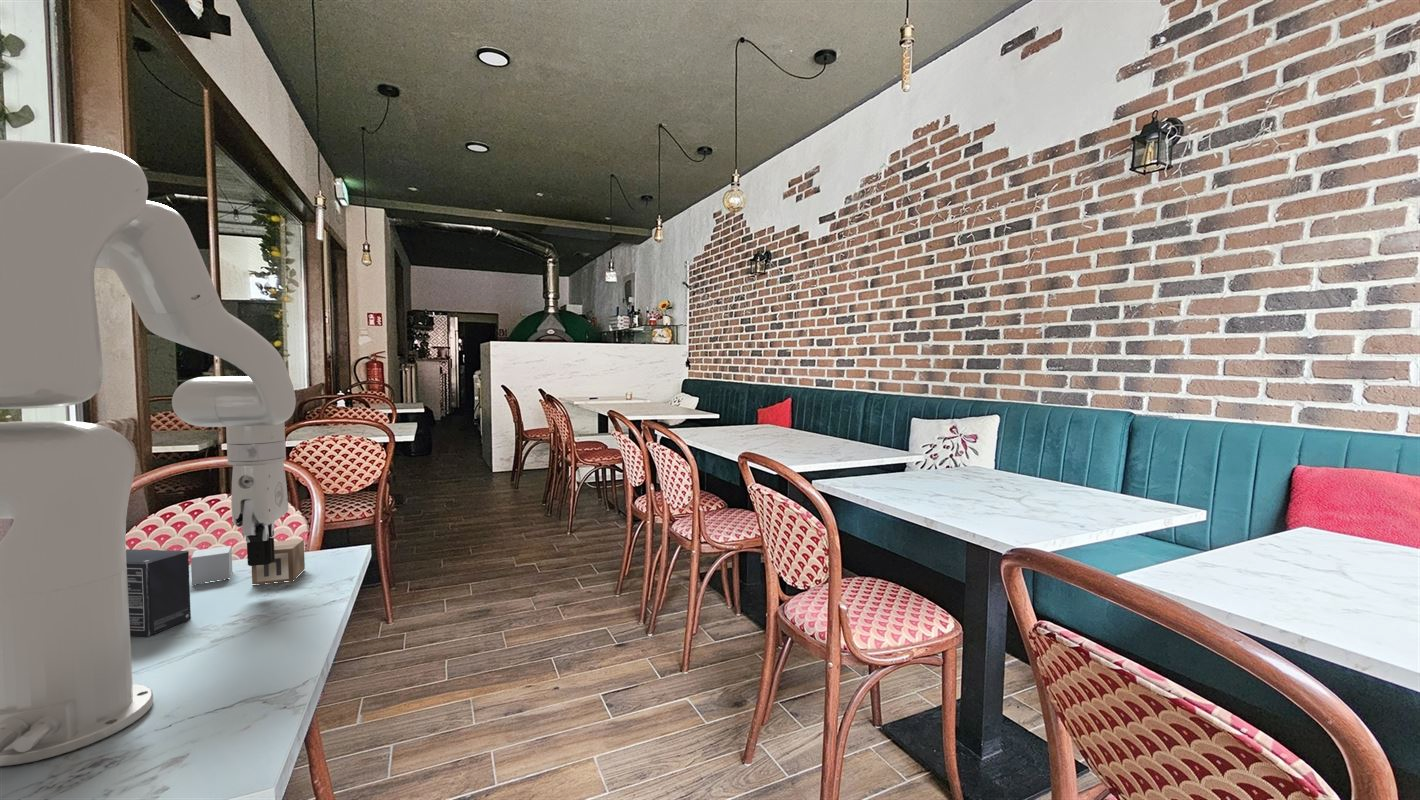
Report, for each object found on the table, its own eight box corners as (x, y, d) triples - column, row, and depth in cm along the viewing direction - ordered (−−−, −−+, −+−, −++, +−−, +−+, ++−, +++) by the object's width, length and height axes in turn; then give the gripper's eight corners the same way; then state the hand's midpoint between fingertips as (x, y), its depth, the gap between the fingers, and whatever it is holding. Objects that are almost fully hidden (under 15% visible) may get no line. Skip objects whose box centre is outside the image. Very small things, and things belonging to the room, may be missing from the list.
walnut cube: (292, 548, 101) (303, 539, 107) (250, 551, 99) (264, 542, 105) (293, 582, 101) (304, 571, 107) (252, 586, 99) (265, 574, 105)
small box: (195, 618, 86) (192, 549, 86) (149, 638, 80) (145, 563, 79) (131, 615, 87) (128, 546, 87) (81, 634, 81) (77, 560, 80)
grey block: (229, 580, 102) (228, 552, 102) (192, 586, 99) (190, 557, 99) (232, 572, 106) (231, 545, 106) (196, 578, 103) (195, 550, 103)
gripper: (267, 458, 89) (271, 576, 90) (299, 446, 103) (302, 548, 104) (207, 460, 86) (212, 582, 87) (248, 448, 100) (252, 552, 101)
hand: (261, 563), depth 95 cm, fingers closed
